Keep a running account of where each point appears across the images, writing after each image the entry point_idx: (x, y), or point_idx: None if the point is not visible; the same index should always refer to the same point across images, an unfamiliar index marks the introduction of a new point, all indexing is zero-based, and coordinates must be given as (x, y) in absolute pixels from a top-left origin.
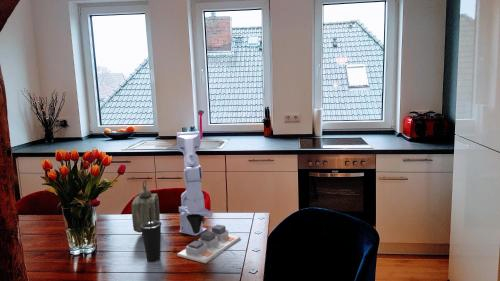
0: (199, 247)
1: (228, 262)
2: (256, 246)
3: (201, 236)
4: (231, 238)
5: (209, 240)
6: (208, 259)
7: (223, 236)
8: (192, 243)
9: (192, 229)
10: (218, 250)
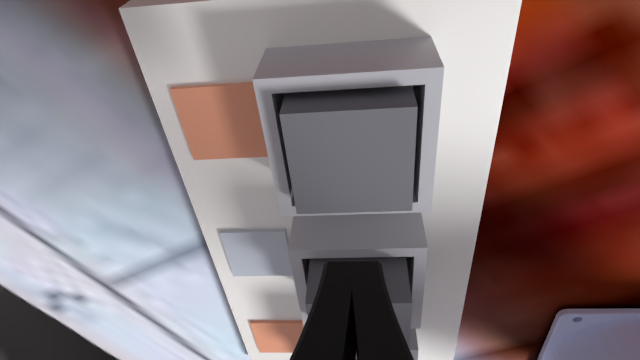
0: (278, 133)
1: (8, 115)
2: (107, 328)
3: (398, 285)
4: (272, 345)
5: (309, 269)
6: (143, 59)
7: None
8: (389, 149)
9: (390, 308)
10: (202, 208)
